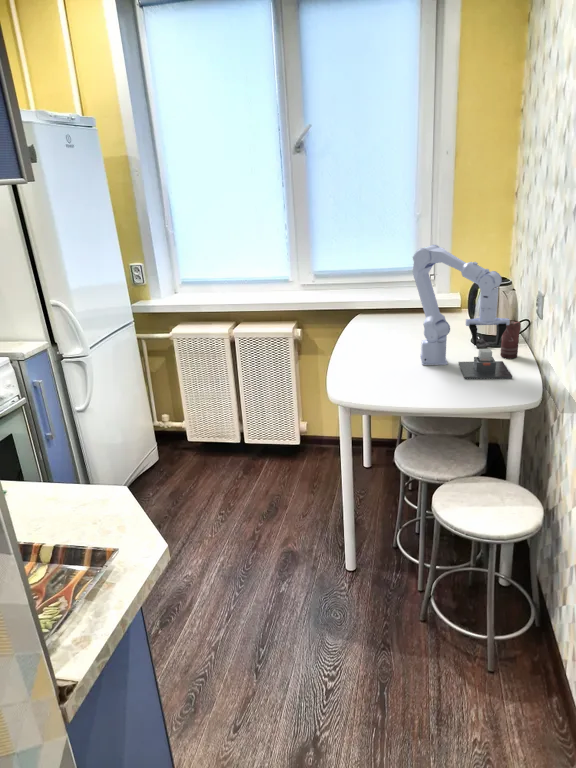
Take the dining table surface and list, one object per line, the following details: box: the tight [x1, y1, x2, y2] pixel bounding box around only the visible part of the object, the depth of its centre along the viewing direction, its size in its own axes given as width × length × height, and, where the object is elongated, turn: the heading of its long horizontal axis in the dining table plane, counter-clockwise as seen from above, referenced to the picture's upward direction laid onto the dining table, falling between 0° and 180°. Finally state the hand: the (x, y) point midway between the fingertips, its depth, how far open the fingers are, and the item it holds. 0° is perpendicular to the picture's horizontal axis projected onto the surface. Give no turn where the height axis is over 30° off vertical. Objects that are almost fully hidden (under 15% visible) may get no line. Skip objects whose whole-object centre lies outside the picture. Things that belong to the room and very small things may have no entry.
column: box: [477, 348, 493, 362], centre depth 203 cm, size 4×4×8 cm
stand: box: [457, 356, 513, 380], centre depth 204 cm, size 16×16×4 cm
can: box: [499, 319, 522, 360], centre depth 215 cm, size 6×6×14 cm
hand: (485, 344), depth 201 cm, fingers open, 7 cm apart
